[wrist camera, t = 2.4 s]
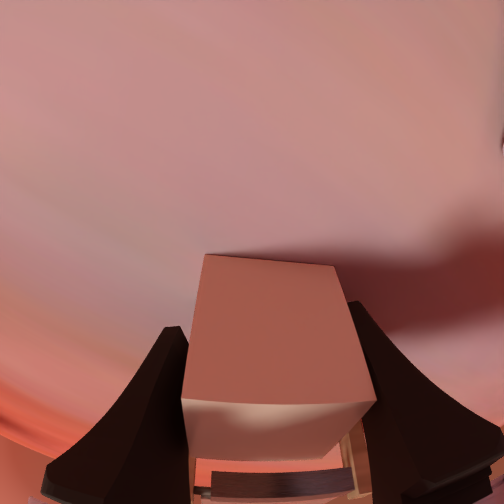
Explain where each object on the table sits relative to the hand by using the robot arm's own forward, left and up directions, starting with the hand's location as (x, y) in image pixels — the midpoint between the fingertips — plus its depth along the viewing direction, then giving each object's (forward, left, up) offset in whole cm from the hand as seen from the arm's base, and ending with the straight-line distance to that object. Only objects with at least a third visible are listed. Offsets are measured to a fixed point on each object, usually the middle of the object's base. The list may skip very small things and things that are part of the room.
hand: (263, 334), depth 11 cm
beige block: (0, 0, -1) cm, 1 cm away
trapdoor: (-2, +9, +4) cm, 10 cm away
